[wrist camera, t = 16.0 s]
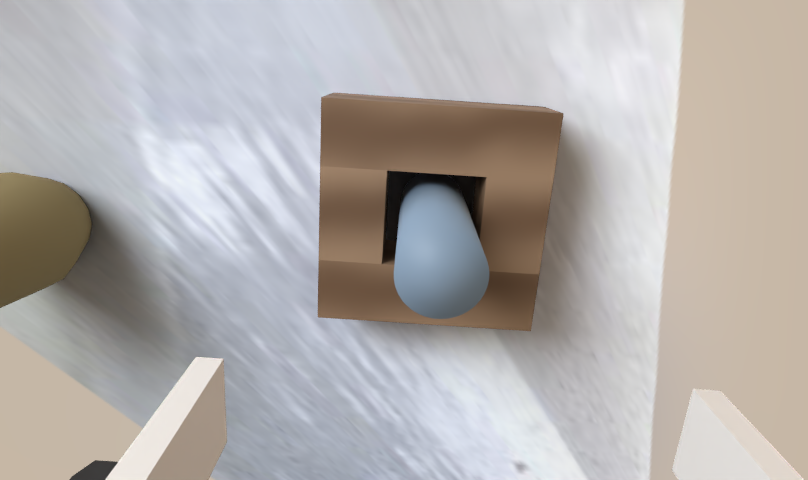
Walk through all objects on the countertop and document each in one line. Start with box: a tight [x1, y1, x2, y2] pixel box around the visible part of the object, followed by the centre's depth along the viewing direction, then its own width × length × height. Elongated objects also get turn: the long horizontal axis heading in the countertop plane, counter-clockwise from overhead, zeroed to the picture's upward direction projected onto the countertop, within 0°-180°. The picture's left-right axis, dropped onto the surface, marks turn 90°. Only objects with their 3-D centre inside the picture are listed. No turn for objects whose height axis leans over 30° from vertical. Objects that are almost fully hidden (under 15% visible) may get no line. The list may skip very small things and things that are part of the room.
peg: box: [394, 173, 489, 319], centre depth 32 cm, size 4×4×14 cm
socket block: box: [318, 93, 563, 331], centre depth 36 cm, size 14×14×5 cm
